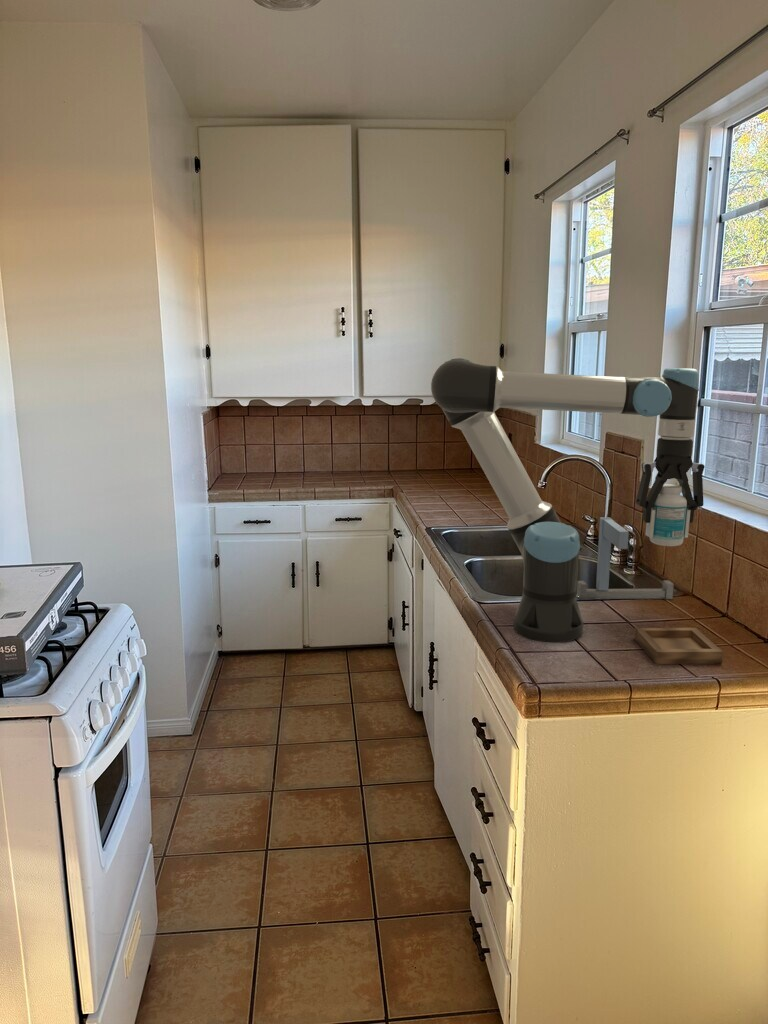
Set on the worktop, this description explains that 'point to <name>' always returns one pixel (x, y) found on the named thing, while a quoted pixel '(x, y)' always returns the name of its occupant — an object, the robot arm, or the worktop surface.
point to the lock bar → (608, 548)
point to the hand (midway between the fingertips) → (666, 536)
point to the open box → (678, 646)
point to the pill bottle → (669, 516)
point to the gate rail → (625, 592)
